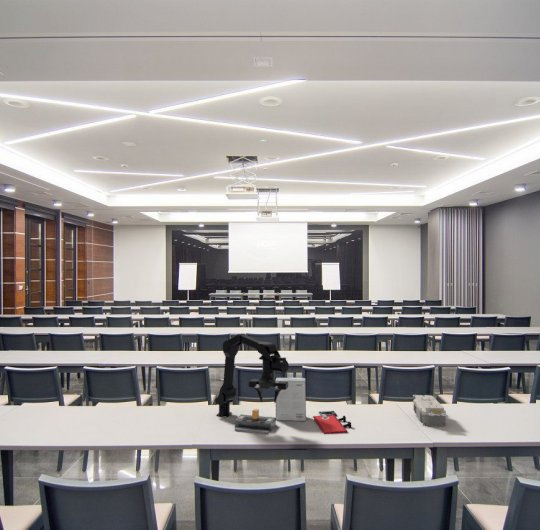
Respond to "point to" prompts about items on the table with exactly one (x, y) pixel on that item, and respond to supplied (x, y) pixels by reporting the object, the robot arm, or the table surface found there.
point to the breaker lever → (255, 413)
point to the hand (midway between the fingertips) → (268, 402)
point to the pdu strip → (255, 422)
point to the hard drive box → (292, 400)
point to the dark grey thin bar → (251, 430)
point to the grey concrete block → (429, 410)
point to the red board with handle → (331, 423)
